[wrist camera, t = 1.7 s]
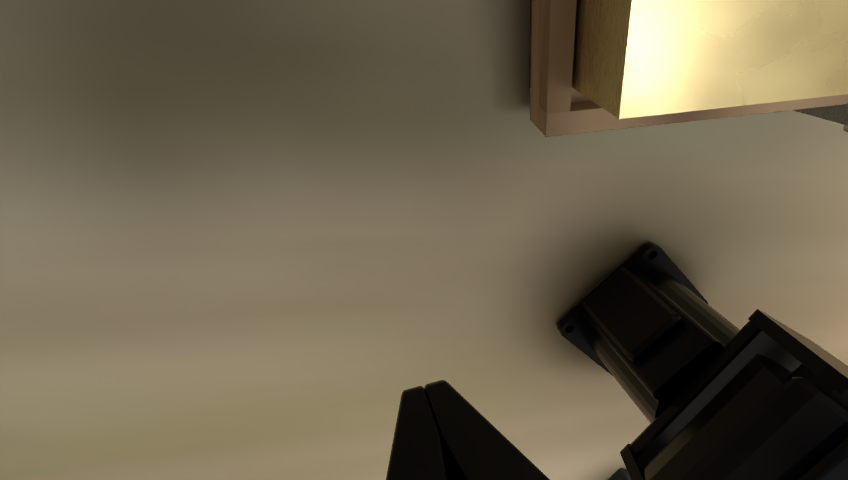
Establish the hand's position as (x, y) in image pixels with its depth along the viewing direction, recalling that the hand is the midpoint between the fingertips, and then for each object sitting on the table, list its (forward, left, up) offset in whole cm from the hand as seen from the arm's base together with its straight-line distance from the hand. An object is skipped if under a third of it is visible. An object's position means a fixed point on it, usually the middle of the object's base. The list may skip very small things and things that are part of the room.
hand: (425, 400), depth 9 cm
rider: (-3, -12, -9) cm, 15 cm away
